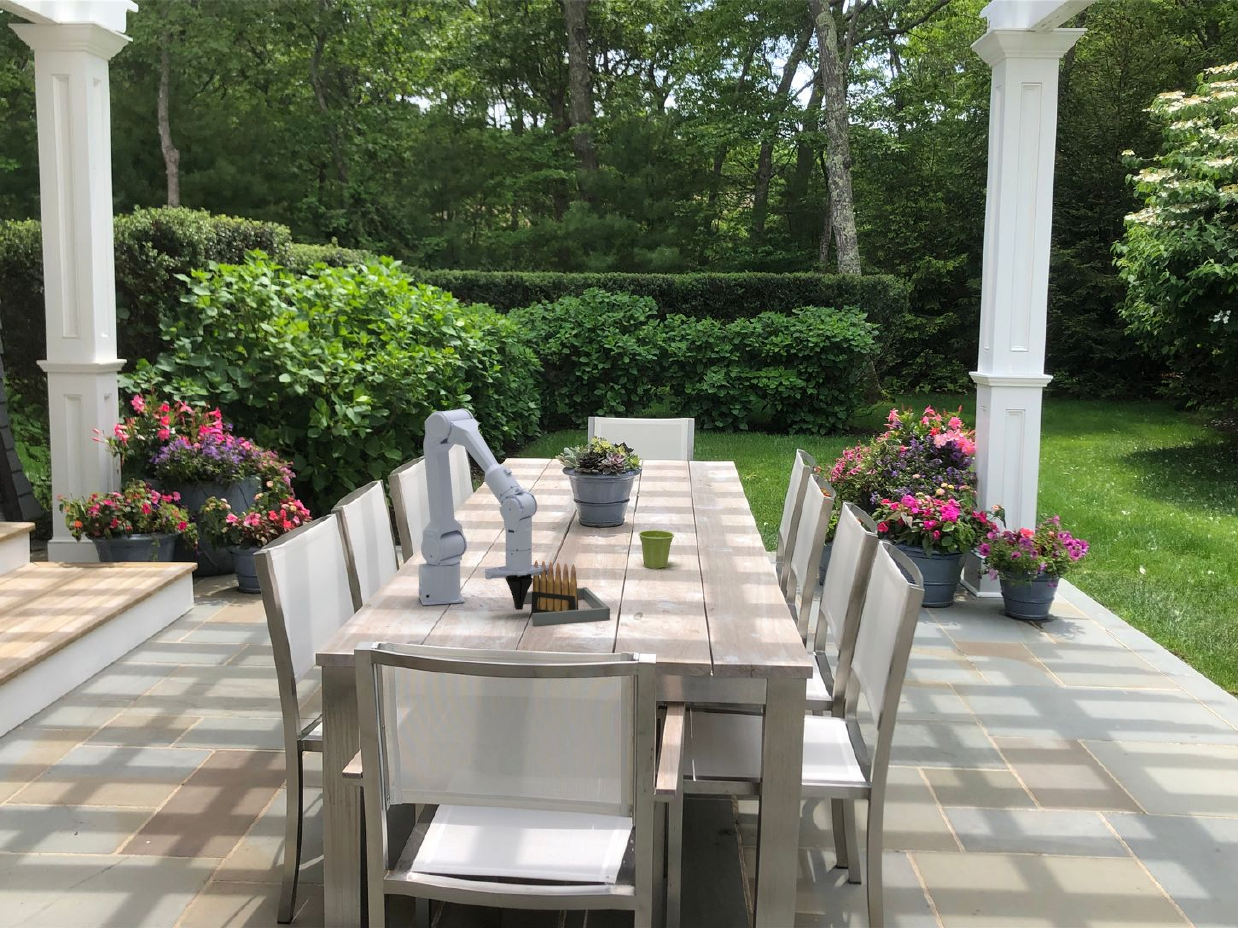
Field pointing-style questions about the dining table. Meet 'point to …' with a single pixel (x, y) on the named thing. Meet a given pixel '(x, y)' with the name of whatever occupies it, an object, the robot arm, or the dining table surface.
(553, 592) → the ammunition clip
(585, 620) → the frame
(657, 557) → the plant pot
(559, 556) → the dining table surface
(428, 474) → the robot arm
